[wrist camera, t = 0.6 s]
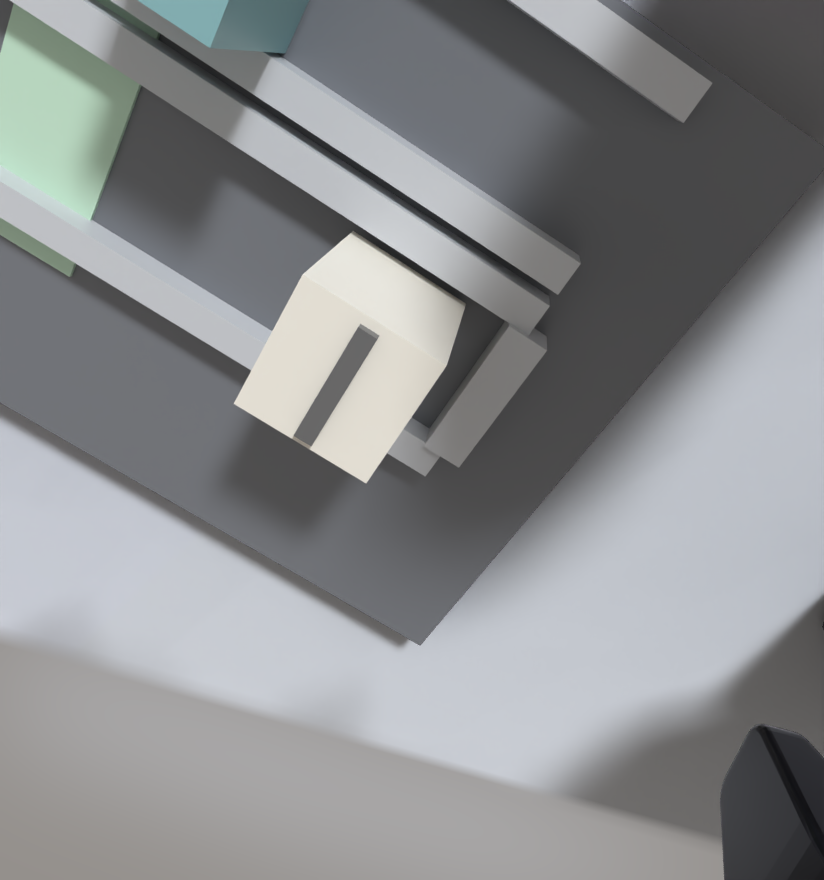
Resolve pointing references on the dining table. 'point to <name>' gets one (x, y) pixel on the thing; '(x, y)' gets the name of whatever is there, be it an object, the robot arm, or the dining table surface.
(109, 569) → the dining table surface
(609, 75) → the console board
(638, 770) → the dining table surface
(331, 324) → the fader cap
